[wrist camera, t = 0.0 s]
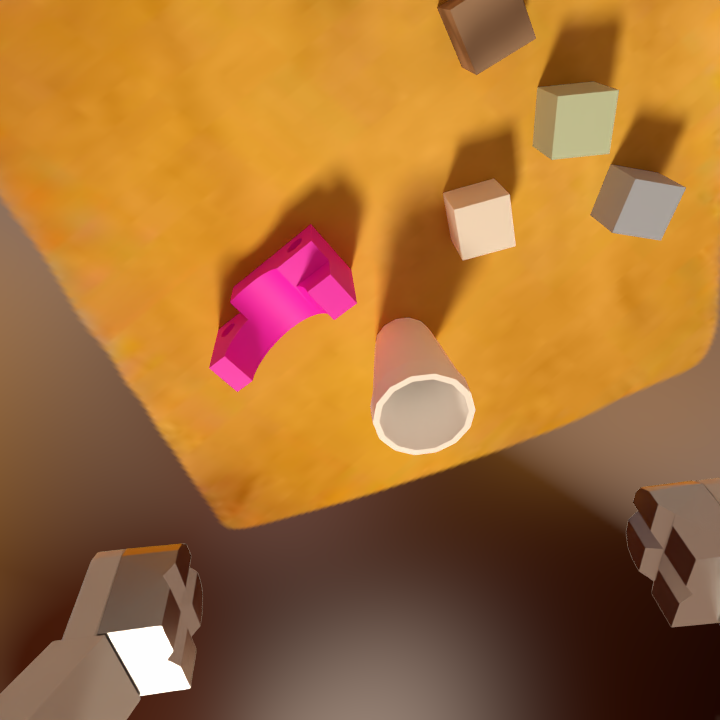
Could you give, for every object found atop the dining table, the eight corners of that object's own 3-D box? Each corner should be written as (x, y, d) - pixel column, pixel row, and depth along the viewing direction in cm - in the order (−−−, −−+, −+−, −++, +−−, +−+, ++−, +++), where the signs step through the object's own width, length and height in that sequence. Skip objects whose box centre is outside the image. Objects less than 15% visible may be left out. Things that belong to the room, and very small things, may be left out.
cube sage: (537, 86, 51) (557, 96, 47) (593, 81, 51) (618, 90, 47) (532, 145, 54) (551, 159, 50) (585, 140, 54) (609, 153, 50)
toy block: (310, 223, 56) (311, 253, 50) (351, 269, 59) (356, 303, 53) (201, 312, 60) (189, 351, 54) (243, 351, 63) (237, 391, 57)
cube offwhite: (442, 192, 55) (453, 209, 51) (493, 178, 55) (509, 194, 51) (451, 240, 58) (462, 260, 54) (500, 226, 58) (515, 246, 54)
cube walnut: (436, 7, 47) (450, 10, 43) (493, -30, 46) (512, -31, 42) (461, 67, 50) (476, 74, 45) (515, 33, 49) (536, 38, 44)
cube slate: (610, 164, 55) (635, 178, 51) (657, 172, 56) (686, 187, 52) (590, 214, 58) (612, 232, 54) (635, 222, 59) (660, 240, 54)
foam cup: (460, 319, 63) (492, 389, 52) (425, 385, 68) (448, 462, 57) (379, 294, 61) (396, 362, 50) (349, 364, 65) (358, 441, 54)
